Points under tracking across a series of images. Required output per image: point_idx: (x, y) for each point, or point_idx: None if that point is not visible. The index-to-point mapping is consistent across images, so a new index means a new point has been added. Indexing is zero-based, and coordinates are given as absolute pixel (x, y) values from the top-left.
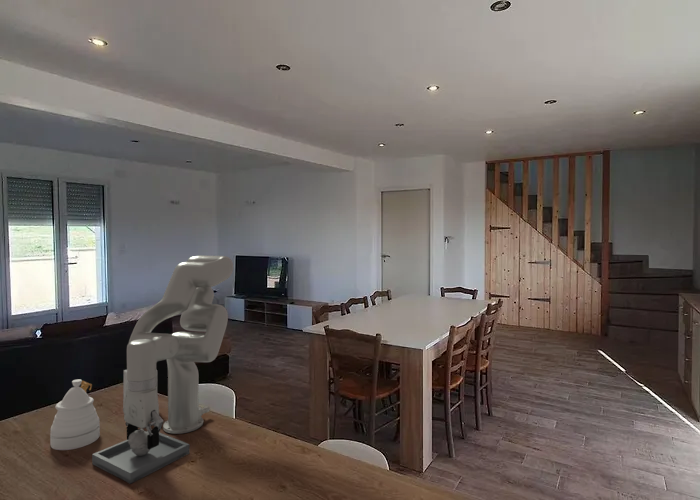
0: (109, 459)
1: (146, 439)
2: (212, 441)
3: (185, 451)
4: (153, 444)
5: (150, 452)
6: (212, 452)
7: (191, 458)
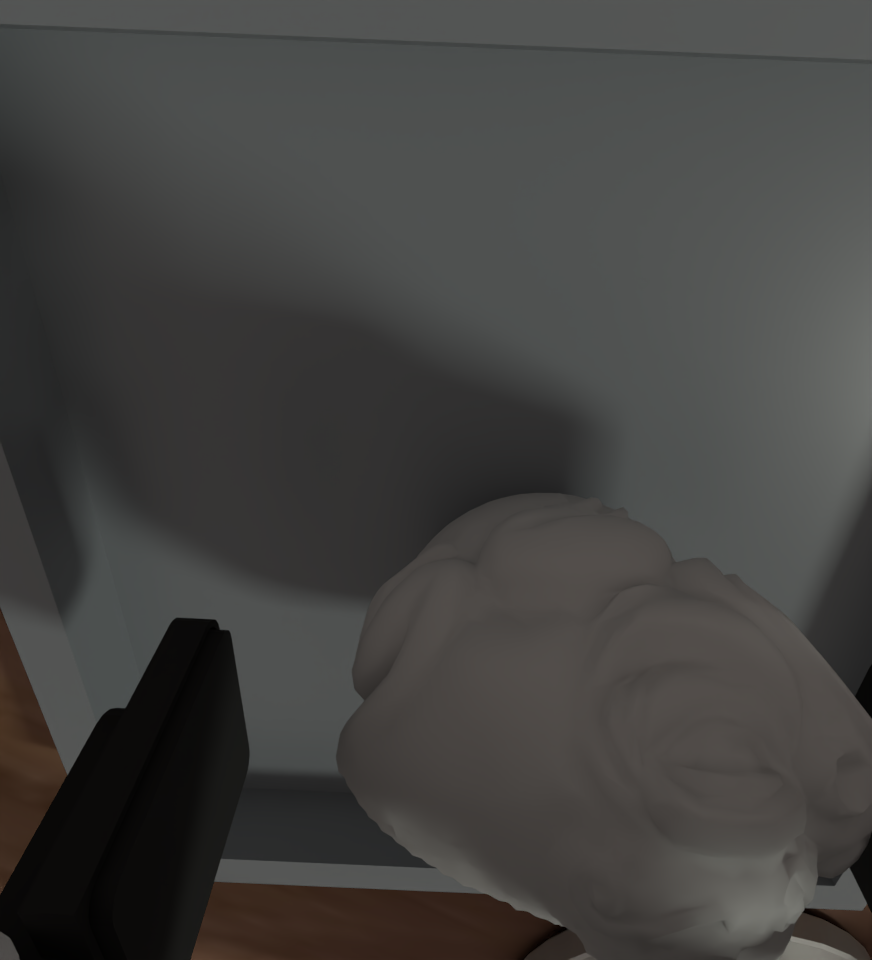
0: (805, 53)
1: (381, 780)
2: (206, 930)
3: None
4: (104, 728)
5: None
6: (11, 846)
7: (40, 732)
